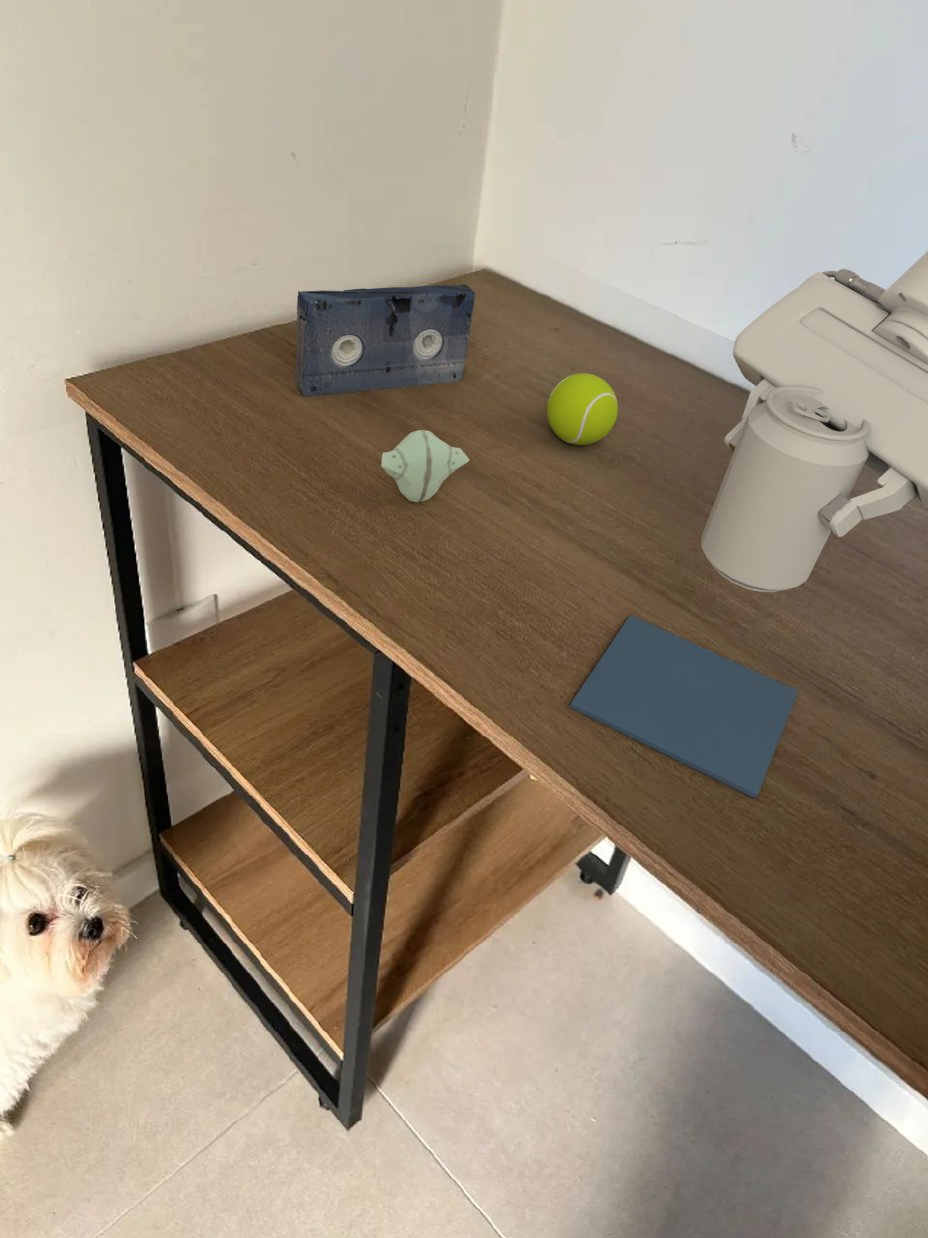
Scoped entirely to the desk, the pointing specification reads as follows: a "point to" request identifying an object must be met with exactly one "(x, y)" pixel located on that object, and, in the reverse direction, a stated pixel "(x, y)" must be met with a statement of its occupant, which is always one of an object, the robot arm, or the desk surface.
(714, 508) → the can
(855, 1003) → the desk surface
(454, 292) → the vhs cassette tape
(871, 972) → the desk surface
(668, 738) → the mat
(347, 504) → the desk surface
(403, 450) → the striped green spinning top
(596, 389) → the tennis ball
